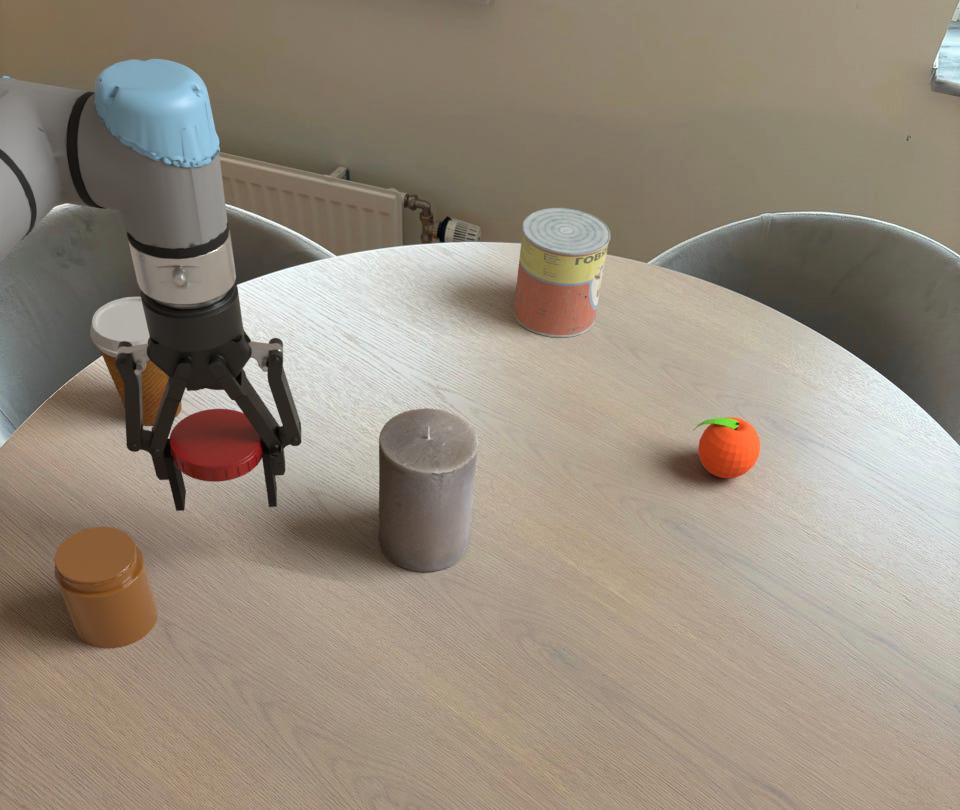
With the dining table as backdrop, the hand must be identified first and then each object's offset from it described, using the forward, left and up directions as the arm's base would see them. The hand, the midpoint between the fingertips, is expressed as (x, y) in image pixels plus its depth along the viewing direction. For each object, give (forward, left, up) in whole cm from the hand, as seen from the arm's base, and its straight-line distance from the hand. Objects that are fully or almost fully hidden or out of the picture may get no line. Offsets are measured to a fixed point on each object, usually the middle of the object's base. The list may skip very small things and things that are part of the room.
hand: (227, 499), depth 95 cm
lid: (0, 0, +7) cm, 7 cm away
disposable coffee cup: (-18, +20, -8) cm, 28 cm away
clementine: (+48, +29, -8) cm, 57 cm away
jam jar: (-7, -12, -8) cm, 16 cm away
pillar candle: (+18, +8, -8) cm, 21 cm away
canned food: (+24, +55, -8) cm, 61 cm away
